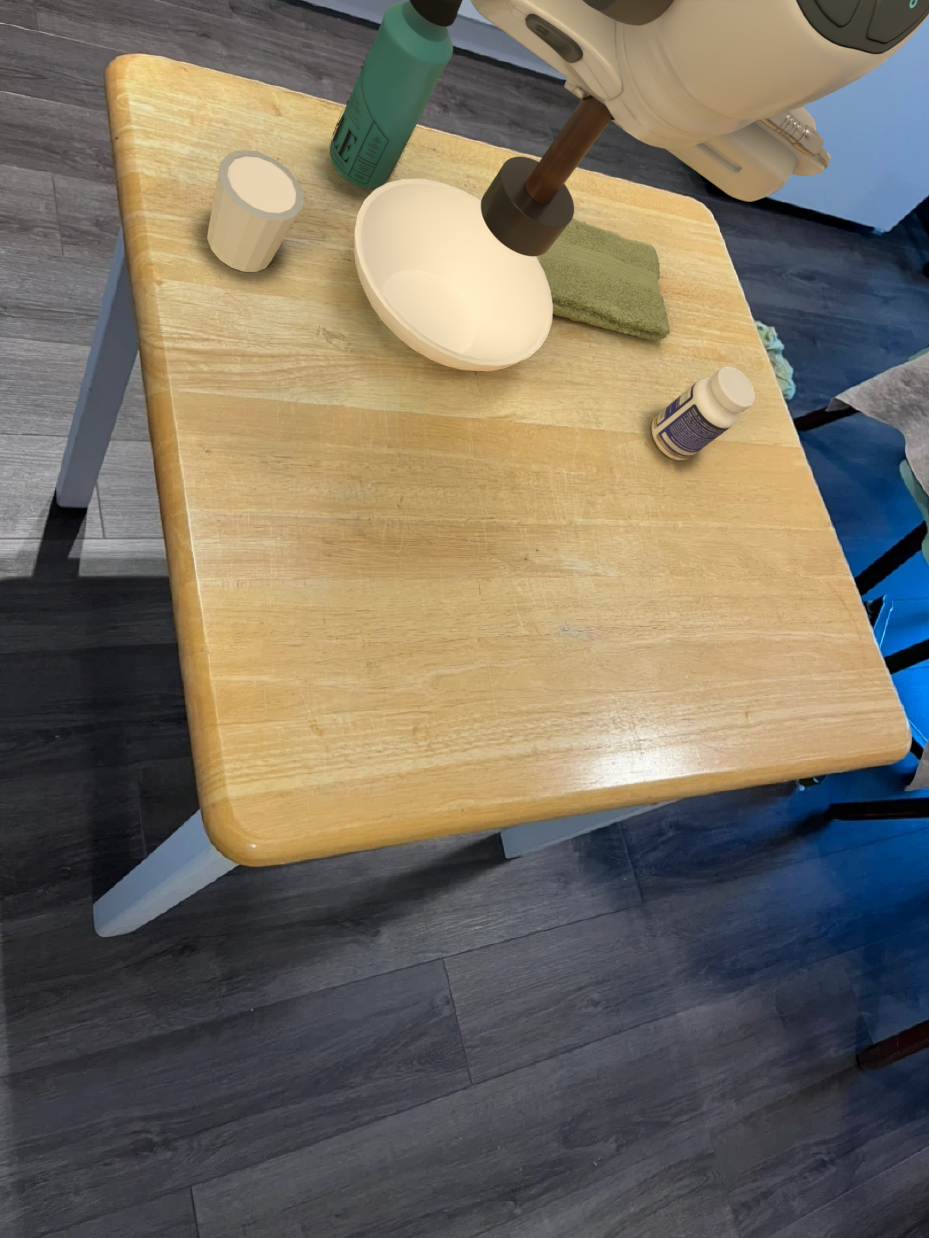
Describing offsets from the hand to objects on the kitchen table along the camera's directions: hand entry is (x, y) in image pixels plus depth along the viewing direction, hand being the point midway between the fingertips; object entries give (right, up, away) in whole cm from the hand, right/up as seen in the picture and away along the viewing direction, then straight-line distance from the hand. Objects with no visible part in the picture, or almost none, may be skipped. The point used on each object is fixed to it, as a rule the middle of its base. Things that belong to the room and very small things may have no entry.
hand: (601, 98), depth 56 cm
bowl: (-12, -5, +27) cm, 30 cm away
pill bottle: (+13, -14, +38) cm, 43 cm away
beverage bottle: (-20, +10, +29) cm, 37 cm away
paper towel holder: (-5, -4, +8) cm, 10 cm away
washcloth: (+5, +4, +41) cm, 41 cm away
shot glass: (-28, -1, +20) cm, 35 cm away
